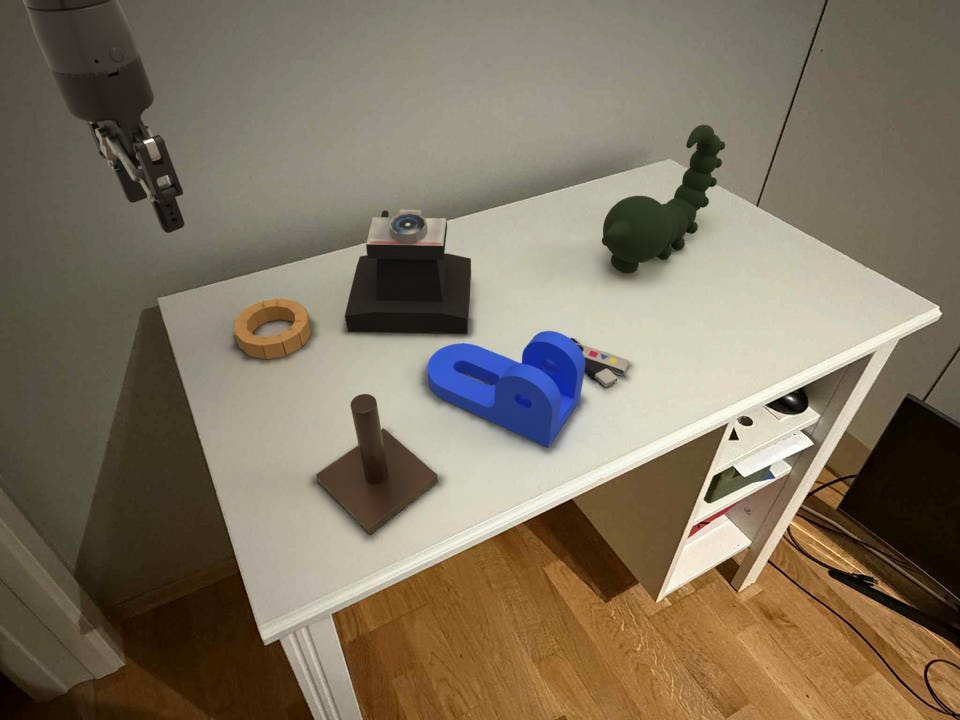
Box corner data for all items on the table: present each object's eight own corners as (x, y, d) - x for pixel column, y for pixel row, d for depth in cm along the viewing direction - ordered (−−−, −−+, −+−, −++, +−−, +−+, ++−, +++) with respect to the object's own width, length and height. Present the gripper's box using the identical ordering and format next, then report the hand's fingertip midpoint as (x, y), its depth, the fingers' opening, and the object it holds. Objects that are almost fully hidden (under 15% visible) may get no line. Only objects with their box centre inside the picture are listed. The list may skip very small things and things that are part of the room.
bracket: (579, 400, 75) (588, 344, 69) (548, 447, 70) (554, 391, 64) (452, 347, 82) (450, 291, 76) (414, 386, 77) (409, 330, 71)
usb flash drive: (558, 348, 82) (559, 342, 81) (590, 333, 84) (591, 328, 83) (603, 389, 77) (604, 383, 76) (635, 372, 79) (637, 366, 78)
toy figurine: (662, 223, 107) (569, 273, 93) (694, 108, 95) (592, 146, 81) (712, 245, 102) (622, 301, 88) (752, 127, 90) (655, 171, 76)
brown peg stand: (370, 535, 62) (353, 458, 54) (317, 481, 67) (294, 402, 59) (438, 481, 67) (432, 403, 59) (384, 434, 72) (372, 355, 63)
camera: (330, 252, 74) (351, 179, 84) (349, 336, 85) (365, 263, 95) (465, 254, 74) (470, 181, 84) (467, 339, 85) (472, 265, 95)
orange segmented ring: (262, 369, 79) (258, 355, 78) (225, 334, 84) (220, 320, 82) (324, 334, 84) (321, 320, 82) (285, 303, 89) (282, 290, 87)
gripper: (21, 46, 59) (94, 202, 70) (80, 87, 52) (151, 254, 63) (103, 28, 63) (160, 179, 74) (169, 64, 56) (221, 225, 67)
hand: (156, 213), depth 69 cm, fingers open, 8 cm apart
